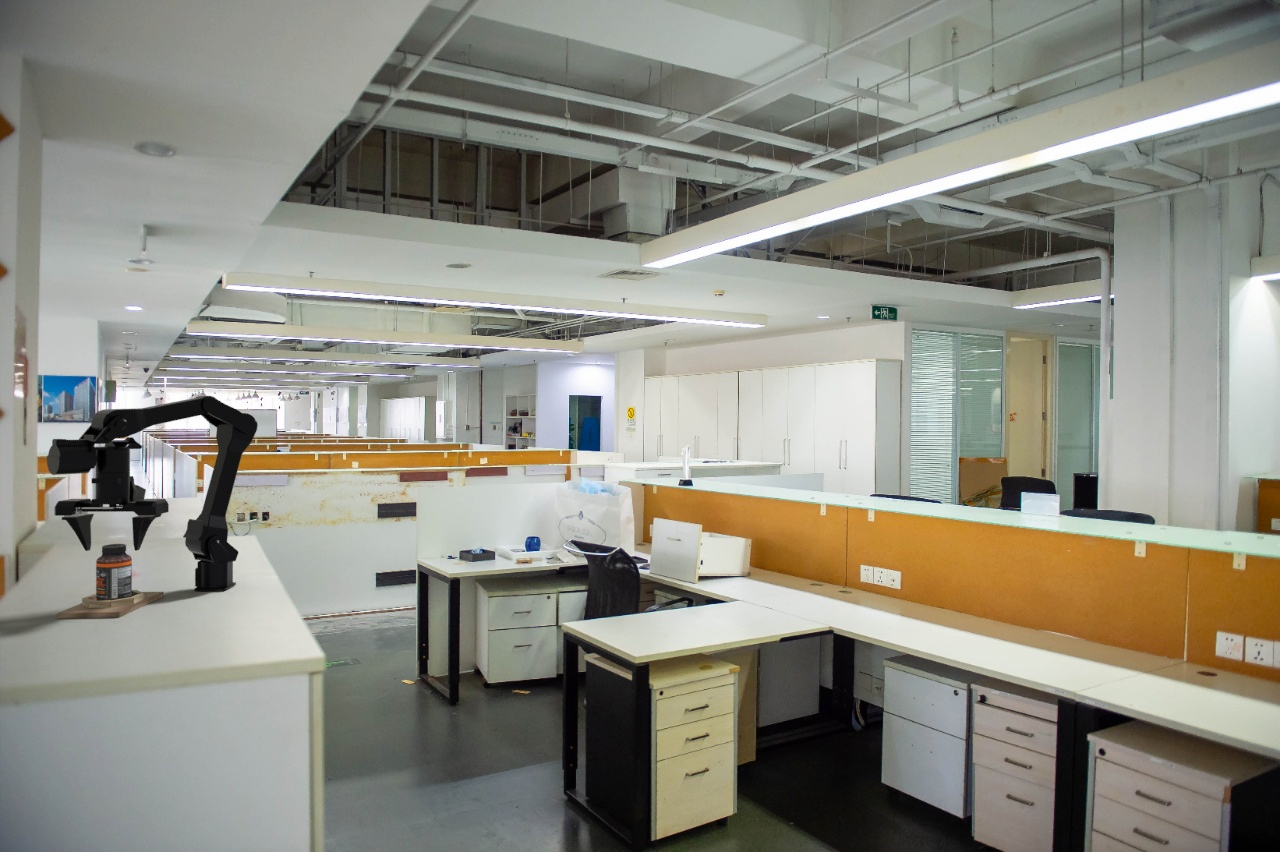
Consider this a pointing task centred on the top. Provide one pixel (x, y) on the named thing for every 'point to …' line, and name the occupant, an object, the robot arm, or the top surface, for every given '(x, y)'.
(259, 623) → the top surface
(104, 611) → the wooden board with rim
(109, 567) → the supplement bottle
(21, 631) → the top surface
